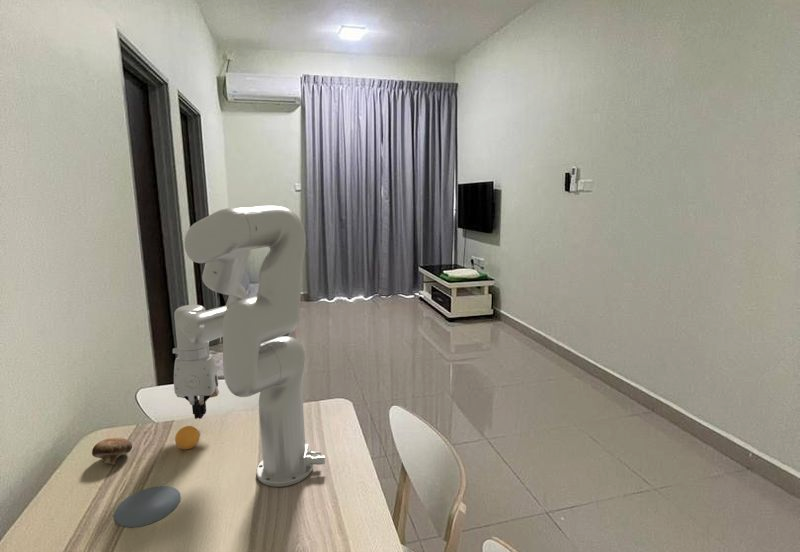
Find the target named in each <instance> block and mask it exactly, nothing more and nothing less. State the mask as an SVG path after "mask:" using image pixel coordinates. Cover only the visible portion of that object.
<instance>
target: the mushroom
mask: <svg viewBox="0 0 800 552" xmlns="http://www.w3.org/2000/svg"><path fill="white" fill-rule="evenodd" d="M132 448H133V444H132V442H131V441H130V440H128V439H126V438H123V437H111V438H106V439H102V440H100V441H99V442H98V443H96V444H95V445H93V448H92V451H91V455H92V457H94V458H97V459H98V458H99V459H101V460H102V462H103V463H105V464H108V465H112V466H116V462H117V459H118V458H119V457H120V456H123V455H126V454H128V453H130V452H131V450H132Z"/></svg>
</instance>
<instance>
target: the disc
mask: <svg viewBox="0 0 800 552" xmlns="http://www.w3.org/2000/svg"><path fill="white" fill-rule="evenodd" d="M181 498H182V497H181V492H180V490H179V489H177V488H175V487H174V486H170V485H157V486H156V485H155V486H150V487H147V488H144V489H142V490H139V491H137V492H135V493H132V494H131V495H129V496H128V497H126V498H125V499H124V500H123V501H121V502H120V503H119V505H118V506H117V507H116V508H115V511H114V513H113V518H114V521H115V522H116V524H117V525H119V526H121V527H125V528H138V527H144V526H147V525H150V524H153V523H156V522H158V521H160V520H162V519H164V518H165V517H167V516H168V515H169V514H171V513H172V512H173V511H174V510H175V509H176V508H177V507H178V505H179V503H180V502H181Z"/></svg>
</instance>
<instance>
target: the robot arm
mask: <svg viewBox="0 0 800 552" xmlns="http://www.w3.org/2000/svg"><path fill="white" fill-rule="evenodd" d="M306 239H307V238H306V231H305V227H304V225H303V223H302V221H301V219H300V218H299V216H298V215H297V214H296V213H295V212H294V211H293V210H291V209H289V208H288V207H284V206H279V205H256V206H245V207H244V206H243V207H229V208H223V209H220V210H217V211H215V212H213V213H211V214H209V215H208V216H206V217H203V218H202V219H199V220H198V221H196V222H194V223H193V224H192V225H191V226H190V227H189V229H188V230H187V232H186V234H185V237H184V250H185V253H186V256H187V257H188V258H189V259H190V260H191V261H192V262H194V263H197V264H204V268H203V271H202V275H201V278H202V282H203V284H204V286H206V287H207V288H208V289H210V290H211V291H212V292H216V293H219V294H221V295H225V296H228V297H227V301H226V304H225V305H223V306H219V307H215V308H211V309H208V310H206V308H205V306H203V305H200V304H187V305H186V304H185V305H181V306H180V307H178V308H176V309H175V311H174V315H173V316H174V326H175V335H176V346H177V347H174V348H172V354H176V355H177V357H176V358H175V360H174V367H173V391H174V394H175V396H176V397H177V398H181V399H185V400H187V401H188V402H189V405H190V406H191V408H192V409H191V410H192V415H194V419H196V420H197V419H203V417H204V416H205V414H206V413H207V405H206V404H207V403H206V402H207V400H209V399H210V398H215V397H217V396H218V395H219V394H220V392H219V391H220V390H219V388H218V386H219V376H218V371H217V366H216V362H215V359H214V356H213V354H211V353H210V342H212V341H214V340H217V339H221V338H222V366H223V367H222V369H223V370H222V372H223V377H224V381H225V385H226V387H227V388H228V390H229V392H230V393H231V394H233V395H234V396H235V397H237V398H238V397H239V398H247V397H252V396H254V395H256V394H259V397H258V412H259V413H258V414H259V426H260V439H261V440H260V441H261V453H262V460H261V461H260V462H259V463H258V465H257V466H256V477H257V479H258V480H259V482H261V484H262V483H263V484H264V485H266V486H268V487H269V486H270V487H274V488H275V487H276V488H277V487H279V488H282V487H287V486H292V485H294V484H297V483H300V482H301V481H303V480H305V479H306V478H307V477H308V476H309V475H310V474H311V473H312V472H313V468H314V465H316V466H318V465H319V466H320V465H326V455H323V454H322V451H321V450H313V451H312V450H311V449H309V443H306V436H305V433H306V432H305V416H304V397H303V381H304V375H305V368H306V366H305V365H306V353H305V350H304V347H303V345H302V344H301V342H300V341H299V340H298V339H296V338H295V337H293V336H288V335H287V334H290V333H292V332H293V331H295V330H296V329H297V327H298V325H299V323H300V318H301V317H300V315H301V298H302V297H301V294H302V270H303V263H304V259H305V254H306V253H305V252H306V246H307V245H306V243H307V242H306V241H307V240H306ZM262 248H269V251H268V252H267V254H266V255H265V257H264V259H263V261H262V263H261V265H260V268H259V272H258V288H257V289H258V290H257V293H256V294H255V295H253V296H250V297H248V294H247V291H246V289H245V287H244V286H243V285H242V283H241V282H242V279H243V276H244V273H245V268H246V266H247V264H248V259H249V256H250V254H251V250H257V249H262Z"/></svg>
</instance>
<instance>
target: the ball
mask: <svg viewBox="0 0 800 552" xmlns="http://www.w3.org/2000/svg"><path fill="white" fill-rule="evenodd" d="M199 440H200V432H199V430H198V429H197V427H196V426H195V427H194V426H193V425H186V426H184V427H181V428H180V429H179V430H178V431H177V432H176V434H175V445H177V447H178V448H179V449H181V450H191V449H192V448H194V447H196V445H197V444H198V443H199Z"/></svg>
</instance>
